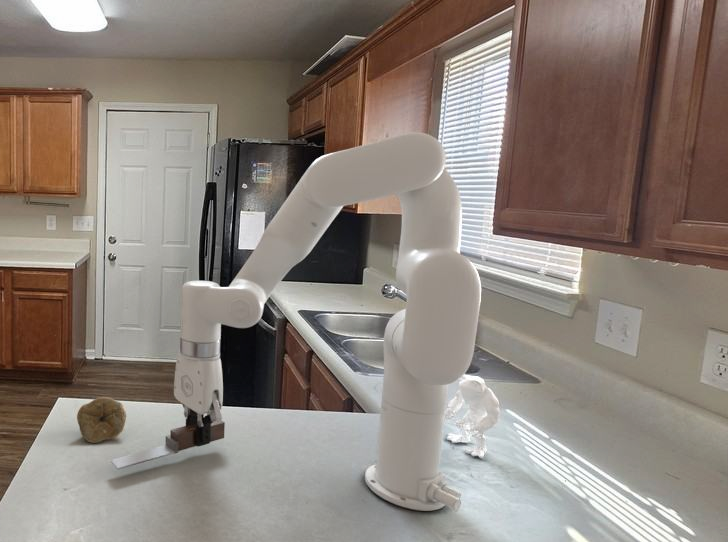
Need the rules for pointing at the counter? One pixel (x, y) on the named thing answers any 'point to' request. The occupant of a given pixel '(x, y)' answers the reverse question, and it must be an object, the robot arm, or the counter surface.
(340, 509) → the counter surface
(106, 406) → the fossil
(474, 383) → the figurine
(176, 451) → the knife
